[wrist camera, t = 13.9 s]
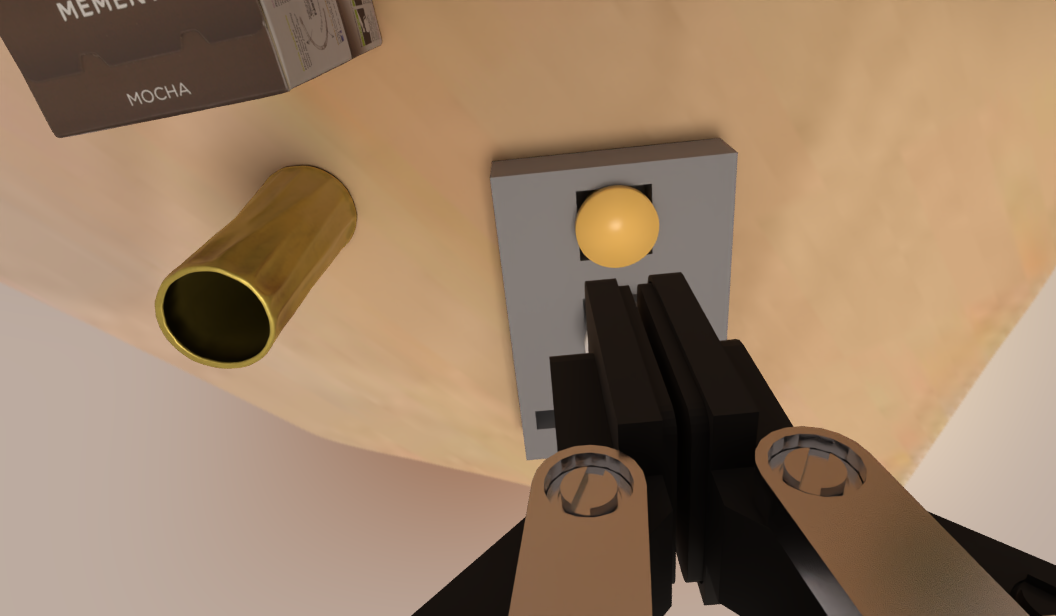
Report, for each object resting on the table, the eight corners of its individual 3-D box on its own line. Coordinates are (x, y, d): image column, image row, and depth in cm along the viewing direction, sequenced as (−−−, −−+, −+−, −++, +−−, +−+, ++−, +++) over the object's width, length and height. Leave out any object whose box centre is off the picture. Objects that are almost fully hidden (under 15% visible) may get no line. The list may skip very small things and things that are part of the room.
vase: (319, 146, 38) (223, 232, 26) (376, 230, 41) (314, 345, 28) (239, 192, 40) (111, 294, 27) (299, 270, 42) (208, 397, 30)
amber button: (649, 169, 38) (659, 185, 35) (649, 243, 40) (659, 263, 37) (569, 178, 38) (573, 193, 35) (574, 251, 40) (578, 271, 38)
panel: (719, 138, 38) (737, 152, 35) (707, 413, 48) (720, 443, 45) (492, 161, 39) (489, 177, 36) (526, 429, 49) (526, 460, 46)
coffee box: (350, -85, 33) (223, -129, 19) (385, 46, 36) (298, 96, 22) (183, -50, 33) (-64, -66, 19) (231, 76, 36) (48, 143, 22)
